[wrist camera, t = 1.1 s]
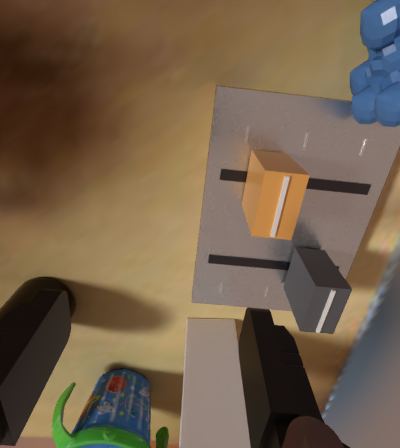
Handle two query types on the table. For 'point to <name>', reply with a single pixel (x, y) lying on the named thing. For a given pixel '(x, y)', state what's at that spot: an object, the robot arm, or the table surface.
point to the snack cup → (111, 415)
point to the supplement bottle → (30, 291)
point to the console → (312, 201)
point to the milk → (212, 387)
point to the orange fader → (273, 194)
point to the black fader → (315, 291)
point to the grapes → (378, 66)
